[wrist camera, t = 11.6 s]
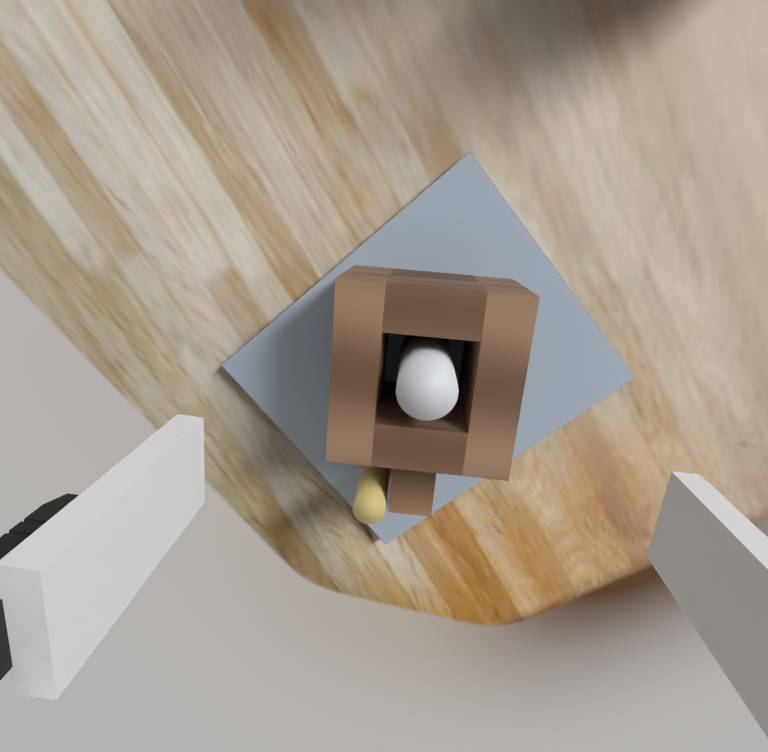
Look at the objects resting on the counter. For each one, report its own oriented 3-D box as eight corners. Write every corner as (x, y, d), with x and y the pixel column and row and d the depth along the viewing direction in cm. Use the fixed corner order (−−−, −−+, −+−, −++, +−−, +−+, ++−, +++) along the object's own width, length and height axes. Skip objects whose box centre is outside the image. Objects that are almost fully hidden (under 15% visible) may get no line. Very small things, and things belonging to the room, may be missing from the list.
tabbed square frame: (355, 264, 30) (335, 277, 23) (512, 279, 29) (539, 296, 23) (341, 468, 33) (321, 531, 27) (481, 483, 33) (496, 550, 26)
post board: (228, 360, 33) (158, 411, 24) (468, 154, 29) (489, 125, 20) (386, 534, 36) (375, 635, 27) (627, 371, 32) (706, 430, 23)
